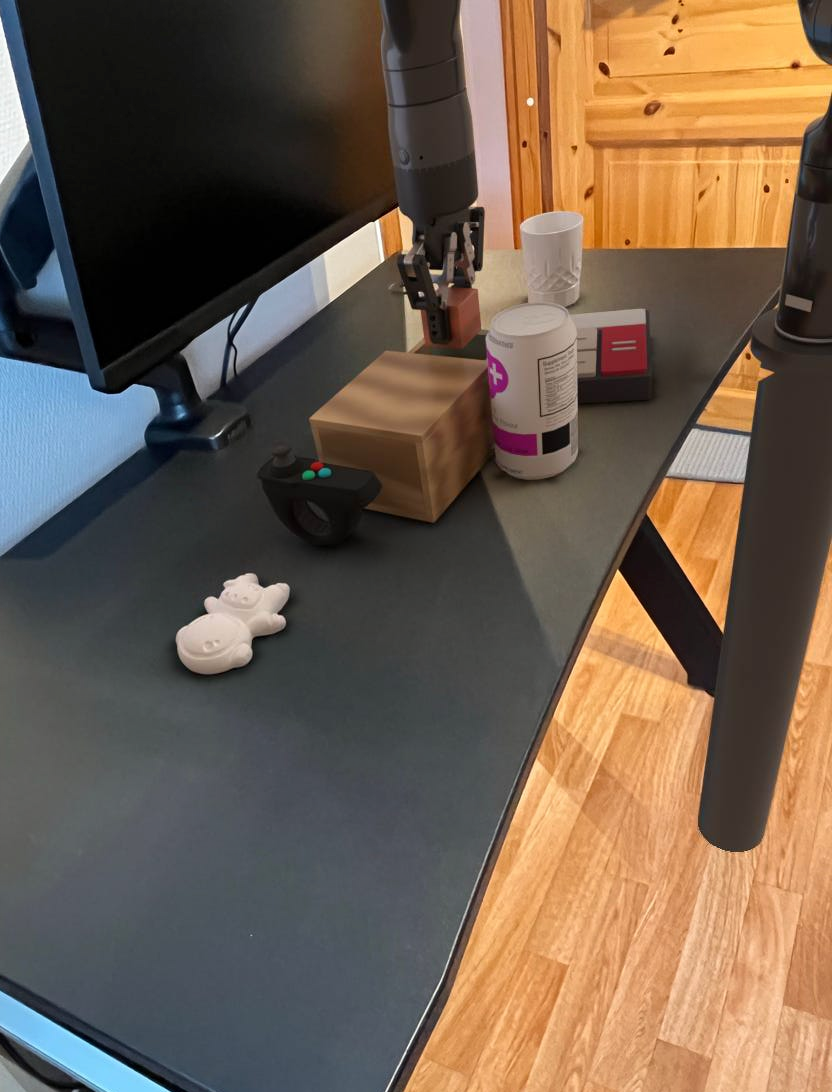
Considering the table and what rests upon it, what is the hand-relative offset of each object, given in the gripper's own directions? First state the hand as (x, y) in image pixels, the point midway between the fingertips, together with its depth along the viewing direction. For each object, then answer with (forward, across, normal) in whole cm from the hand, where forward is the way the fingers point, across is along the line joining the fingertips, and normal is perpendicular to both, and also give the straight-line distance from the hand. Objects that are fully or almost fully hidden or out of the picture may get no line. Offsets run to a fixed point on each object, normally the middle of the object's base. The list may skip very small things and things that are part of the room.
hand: (453, 331), depth 90 cm
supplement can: (+11, -5, -11) cm, 16 cm away
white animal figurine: (+11, -38, +3) cm, 39 cm away
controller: (+11, -24, +2) cm, 26 cm away
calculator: (+11, +14, -10) cm, 21 cm away
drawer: (+10, 0, 0) cm, 10 cm away
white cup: (+11, +32, +3) cm, 34 cm away
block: (+1, 0, 0) cm, 1 cm away
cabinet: (+11, -11, 0) cm, 15 cm away
